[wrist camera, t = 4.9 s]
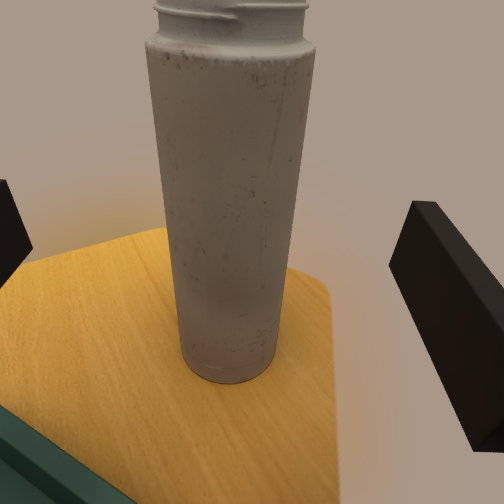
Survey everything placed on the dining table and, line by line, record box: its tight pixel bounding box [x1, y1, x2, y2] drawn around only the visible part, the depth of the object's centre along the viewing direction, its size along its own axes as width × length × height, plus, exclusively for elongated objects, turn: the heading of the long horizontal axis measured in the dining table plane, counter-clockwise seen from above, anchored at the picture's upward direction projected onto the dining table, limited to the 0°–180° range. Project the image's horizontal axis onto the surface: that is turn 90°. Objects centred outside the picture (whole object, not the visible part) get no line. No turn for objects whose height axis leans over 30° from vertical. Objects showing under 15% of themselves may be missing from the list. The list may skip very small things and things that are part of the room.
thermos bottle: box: [145, 0, 316, 384], centre depth 22 cm, size 8×8×28 cm
